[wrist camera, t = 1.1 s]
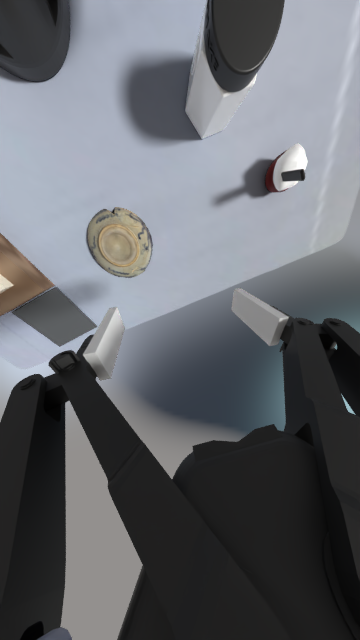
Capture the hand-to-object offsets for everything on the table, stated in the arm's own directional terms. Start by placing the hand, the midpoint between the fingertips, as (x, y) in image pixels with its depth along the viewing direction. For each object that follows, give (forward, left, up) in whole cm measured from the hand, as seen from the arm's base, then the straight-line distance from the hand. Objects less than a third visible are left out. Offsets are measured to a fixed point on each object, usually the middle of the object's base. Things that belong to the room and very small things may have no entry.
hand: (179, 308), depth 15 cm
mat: (-1, -33, -25) cm, 42 cm away
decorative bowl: (-9, -6, -26) cm, 28 cm away
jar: (-21, +21, -26) cm, 39 cm away
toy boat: (-6, +32, -26) cm, 41 cm away
